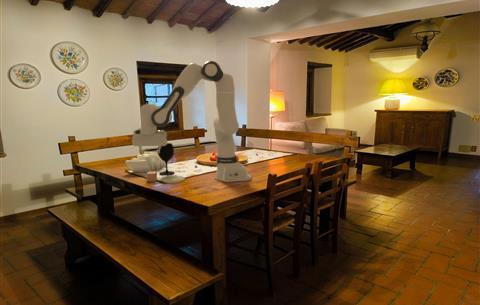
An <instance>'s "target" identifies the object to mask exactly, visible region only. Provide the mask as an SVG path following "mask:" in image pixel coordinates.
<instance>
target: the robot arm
mask: <svg viewBox="0 0 480 305" xmlns="http://www.w3.org/2000/svg"><path fill="white" fill-rule="evenodd" d="M201 80H205V81H208V82H213V83H214V84H215V90H216V91H215V93H216V94H215V95H216V96H215V100H216V102H215V105H216V109H217V114H218V115H217V117H215V119H214V121H213V127H214V134H215V139H216V152H217V153H216V154H217V155H216V173H215V176H214V179H215V180H217V181H222V182H225V183H229V182H245V181H250V180H251V179H252V176H251V175H250V173H248V169H247V167H246V166H245V165H243V164H242V163H241V162H239V161H240V158H239V156H237V155H236V144H235V143H236V142H235V140H234V134H236V133H237V132H238V131H239V122H238V117H237V113H236V111H237V110H236V107H235V106H236V105H235V100H236V99H235V96H236V93H235V92H236V91H235V83H234V78H233V76H232V75H231V74H230V73H224V72H223V70H222V68H221V66H220V65H219V64H218V62H216V61H214V60H208V61H206V62H204V63H203V65H199V64H198V63H195V62H191V63H189V64H188V65H187V66H185V68H184V69H183V70H182V72H181V73H180V74H179V76H178V77H177V79H176V80H175V84H174V85H173V87H172V90H171V91H170V94H169V95H168V97H167V98H165V101H164V102H163V104H162V105H161V106H158V105H156V104H155V103H154V102H149V103H145V104H142V105H141V106H140V121H141V124H140V127H139V128H137V129H134V130H133V132H132V133H133V135H132V138H131V139H132V140H131V142H132V143H131V144H132V146H133V147H138V149H139V151H140V154H143V153H144V152H145V149H143V147H157V149H156V152H157V153H160V149H161V146H165V145H166V144H167V143H168V139H167V137H168V135H167V132H166V131H165V130H158V129H157V128H164V127H166V126H167V125H168V124H169V123H170V122H172V119H173V115H172V113H173V111H174V109H175V108H176V106H177V105H178V104H179V103H180V102H181V101H182V99H184V98H186V97H187V96H189V95H190V94H191V93H192V92H193V91H194V89H195V88H196V86H197V85H198V83H199V82H200V81H201ZM158 148H159V149H158Z"/></svg>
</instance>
